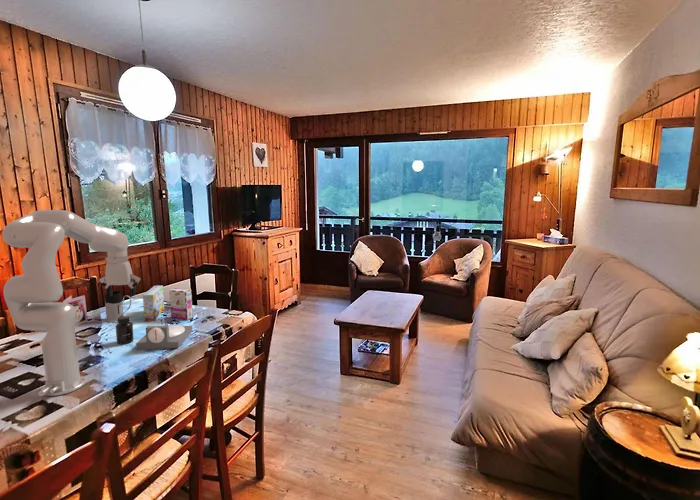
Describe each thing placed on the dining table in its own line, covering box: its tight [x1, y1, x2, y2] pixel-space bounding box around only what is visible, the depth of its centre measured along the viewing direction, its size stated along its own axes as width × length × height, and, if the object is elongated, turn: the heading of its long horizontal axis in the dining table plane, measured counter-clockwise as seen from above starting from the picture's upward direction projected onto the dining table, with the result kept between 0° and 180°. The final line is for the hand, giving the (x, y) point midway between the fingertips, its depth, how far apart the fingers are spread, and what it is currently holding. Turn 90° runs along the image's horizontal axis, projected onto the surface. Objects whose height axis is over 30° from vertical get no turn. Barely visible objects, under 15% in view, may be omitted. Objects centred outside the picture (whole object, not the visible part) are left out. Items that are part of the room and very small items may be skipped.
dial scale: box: [135, 324, 193, 350], centre depth 173 cm, size 21×18×10 cm
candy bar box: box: [169, 287, 194, 321], centre depth 203 cm, size 11×5×16 cm, turn 73°
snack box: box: [142, 285, 165, 322], centre depth 208 cm, size 21×6×15 cm, turn 13°
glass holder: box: [104, 290, 132, 323], centre depth 200 cm, size 9×14×15 cm, turn 88°
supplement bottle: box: [115, 315, 135, 346], centre depth 171 cm, size 7×7×12 cm
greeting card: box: [62, 294, 88, 327], centre depth 191 cm, size 11×7×15 cm, turn 165°
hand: (121, 296), depth 168 cm, fingers open, 9 cm apart
